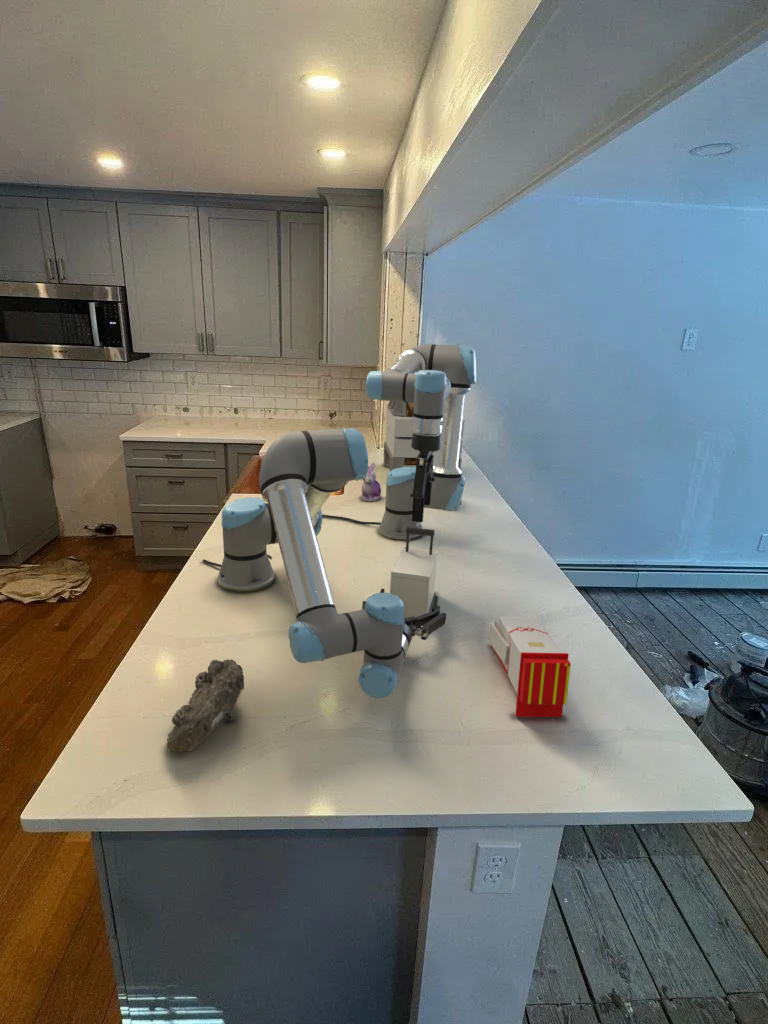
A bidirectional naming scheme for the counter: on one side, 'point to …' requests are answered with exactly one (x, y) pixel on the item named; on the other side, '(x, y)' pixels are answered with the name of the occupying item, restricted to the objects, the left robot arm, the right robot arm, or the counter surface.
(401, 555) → the lid
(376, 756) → the counter surface
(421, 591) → the white open box
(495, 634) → the toy
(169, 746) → the fossil
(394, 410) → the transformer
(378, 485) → the figurine
